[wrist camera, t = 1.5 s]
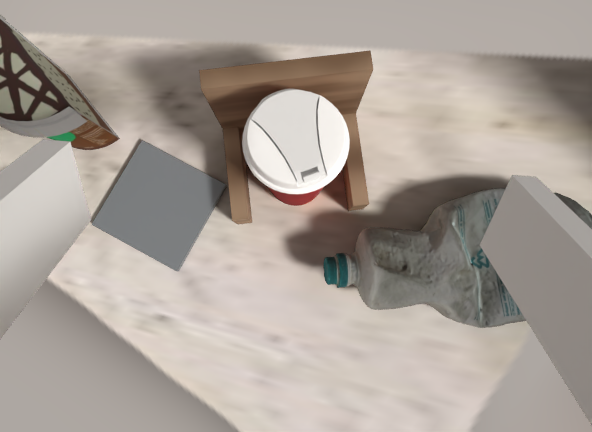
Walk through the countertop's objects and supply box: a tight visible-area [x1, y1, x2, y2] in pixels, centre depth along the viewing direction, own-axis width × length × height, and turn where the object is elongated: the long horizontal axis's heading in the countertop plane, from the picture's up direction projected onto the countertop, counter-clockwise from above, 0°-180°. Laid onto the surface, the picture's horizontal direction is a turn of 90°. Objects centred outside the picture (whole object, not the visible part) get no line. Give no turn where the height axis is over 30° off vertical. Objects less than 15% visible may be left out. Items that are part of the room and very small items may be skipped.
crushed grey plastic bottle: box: [324, 188, 592, 328], centre depth 36 cm, size 13×7×25 cm
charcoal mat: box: [92, 140, 227, 271], centre depth 39 cm, size 10×10×1 cm
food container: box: [0, 15, 120, 150], centre depth 36 cm, size 12×6×10 cm, turn 40°
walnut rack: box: [199, 51, 373, 224], centre depth 34 cm, size 10×13×12 cm
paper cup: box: [242, 89, 350, 206], centre depth 33 cm, size 8×8×14 cm
